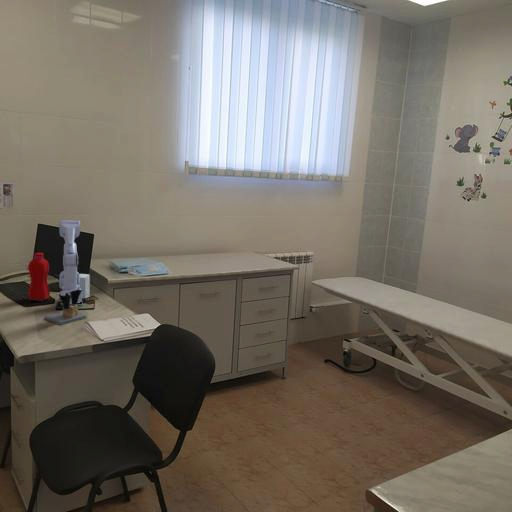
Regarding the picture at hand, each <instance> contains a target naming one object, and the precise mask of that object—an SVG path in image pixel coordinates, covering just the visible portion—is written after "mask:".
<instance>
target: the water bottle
mask: <svg viewBox="0 0 512 512" xmlns="http://www.w3.org/2000/svg"><path fill="white" fill-rule="evenodd" d="M44 256H45V255H44V253H43V252H37V253H34V254H33V259H31V260H30V261H29V263H28V265H27V270H26V271H28V274H29V275H28V274H26V276H27V277H28V278H29V277H30V284H29V288H28V293H27V294H28V295H27V296H28V299H29V298H30V299H40V300H42V299H47V298H48V299H49V298H50V294H51V293H50V288H49V283H48V275H49V271H50V264H49V262H48V260H46V259H45V258H44ZM48 299H47V300H48Z"/></svg>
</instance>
